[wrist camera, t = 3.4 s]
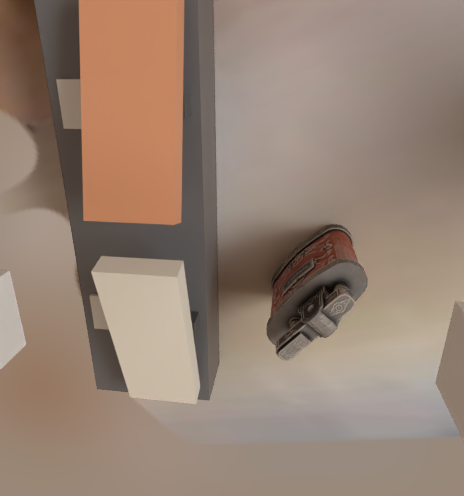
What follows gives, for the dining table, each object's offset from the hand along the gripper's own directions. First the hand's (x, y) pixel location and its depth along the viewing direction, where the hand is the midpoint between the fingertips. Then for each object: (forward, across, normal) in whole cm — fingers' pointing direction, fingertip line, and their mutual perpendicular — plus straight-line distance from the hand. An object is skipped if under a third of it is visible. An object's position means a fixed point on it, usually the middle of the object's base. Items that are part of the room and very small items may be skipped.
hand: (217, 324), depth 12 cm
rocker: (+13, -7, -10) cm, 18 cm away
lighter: (+21, +4, -7) cm, 23 cm away
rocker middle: (+13, -7, +5) cm, 16 cm away
